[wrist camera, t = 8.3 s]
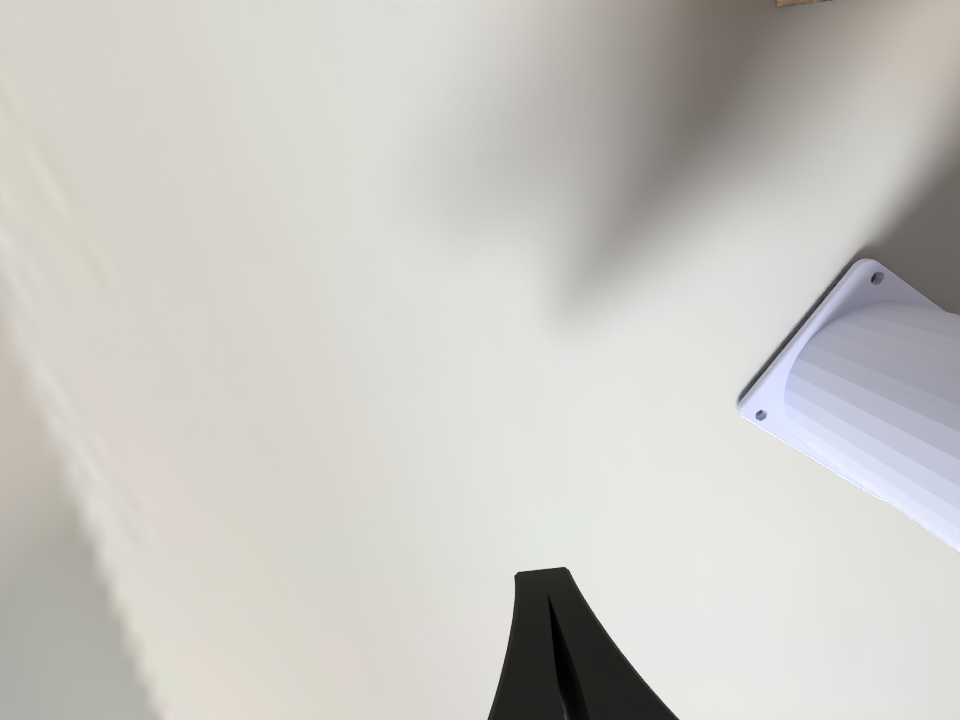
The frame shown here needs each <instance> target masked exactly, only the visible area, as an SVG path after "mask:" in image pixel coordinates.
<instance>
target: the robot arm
mask: <svg viewBox="0 0 960 720" xmlns="http://www.w3.org/2000/svg"><path fill="white" fill-rule="evenodd" d="M875 273H876V278H875V279H874V281H873V282H871V278H872V276H873V275H874V274H875ZM737 410H738V413H739V414H740V415H741V416H742V417H744V418H745V419H747V420H748V421H750V422H752V423H753V424H755V425H756V426H758V427H760V428H761V429H763V430H765V431H766V432H768V433H770V434H771V435H773V436H775V437H776V438H778V439H780V440H781V441H783V442H785V443H786V444H788V445H790V446H791V447H793V448H795V449H796V450H798V451H800V452H801V453H803V454H804V455H806V456H808V457H809V458H811V459H813V460H814V461H816V462H818V463H819V464H821V465H823V466H824V467H826V468H828V469H829V470H831V471H833V472H834V473H836V474H838V475H839V476H841V477H843V478H844V479H846V480H848V481H849V482H851V483H853V484H854V485H856V486H857V487H859V488H861V489H862V490H864V491H866V492H867V493H869V494H871V495H872V496H874V497H876V498H877V499H880V500H885V501H887V502H888V503H889V504H891V505H892V506H894V507H895V508H897V509H898V510H899V511H901V512H902V513H904V514H905V515H907V516H908V517H909V518H911V519H912V520H914V521H915V522H916V523H918V524H919V525H921V526H922V527H924V528H925V529H926V530H928V531H929V532H931V533H932V534H934V535H935V536H936V537H938V538H939V539H941V540H942V541H944V542H945V543H946V544H948V545H949V546H951V547H952V548H953V549H955V550H956V551H958V552H959V553H960V315H957V314H952V313H948V312H945V311H944V310H942V309H941V308H940V307H938V306H937V305H936V304H934V303H933V302H932V301H930V300H929V299H928V298H926V297H925V296H924V295H922V294H921V293H920V292H918V291H917V290H915V289H914V288H913V287H911V286H910V285H909V284H907V283H906V282H905V281H903V280H902V279H901V278H899V277H898V276H897V275H895V274H894V273H893V272H891V271H890V270H889V269H887V268H886V267H884V266H883V265H882V264H880V263H879V262H878V261H876V260H873V259H861V260H858V261H857V262H856V263H854V264H853V265H852V267H851V268H850V269H849V270H848V272H847V273H846V274H845V275H844V276H843V278H842V279H841V280H840V281H839V282H838V284H837V285H836V286H835V287H834V288H833V290H832V291H831V292H830V293H829V295H828V296H827V297H826V298H825V299H824V301H823V302H822V303H821V304H820V305H819V307H818V308H817V309H816V310H815V311H814V313H813V314H812V315H811V316H810V318H809V319H808V320H807V321H806V322H805V324H804V325H803V326H802V327H801V328H800V330H799V331H798V332H797V333H796V334H795V336H794V337H793V338H792V339H791V341H790V342H789V343H788V344H787V345H786V347H785V348H784V349H783V350H782V351H781V353H780V354H779V355H778V356H777V357H776V359H775V360H774V361H773V362H772V364H771V365H770V366H769V367H768V368H767V370H766V371H765V372H764V373H763V374H762V376H761V377H760V378H759V379H758V380H757V382H756V383H755V384H754V385H753V387H752V388H751V389H750V390H749V391H748V393H747V394H746V395H745V396H744V397H743V399H742V400H741V401H740V403H739V404H738V408H737ZM759 410H762V412H761V414H760V415H759V416H756V413H757V412H758V411H759ZM514 577H515V601H514V611H513V619H512V625H511V630H510V636H509V641H508V647H507V651H506V655H505V660H504V664H503V668H502V672H501V676H500V680H499V684H498V687H497V691H496V694H495V698H494V701H493V704H492V707H491V710H490V713H489V717H488V720H565V718H566V720H679V719H678V718H677V717H676V716H675V715H674V714H673V712H672V711H671V710H670V709H669V708H668V707H667V706H666V705H665V704H664V703H663V702H662V700H661V699H660V698H659V697H658V696H657V695H656V694H655V693H654V691H653V690H652V689H651V688H650V687H649V686H648V684H647V683H646V682H645V681H644V680H643V679H642V677H641V676H640V675H639V674H638V673H637V671H636V670H635V669H634V668H633V666H632V665H631V664H630V662H629V661H628V660H627V659H626V657H625V656H624V655H623V654H622V652H621V651H620V650H619V648H618V647H617V646H616V644H615V643H614V642H613V640H612V639H611V637H610V636H609V635H608V633H607V632H606V630H605V629H604V627H603V626H602V625H601V623H600V622H599V620H598V619H597V617H596V616H595V614H594V613H593V611H592V610H591V608H590V607H589V605H588V603H587V602H586V600H585V599H584V597H583V595H582V594H581V592H580V590H579V588H578V587H577V585H576V583H575V581H574V579H573V577H572V575H571V573H570V571H569V570H568V569H567V568H565V567H560V568H551V569H542V570H532V571H523V572H518V573H517V574H516V575H515V576H514Z"/></svg>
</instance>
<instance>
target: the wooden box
mask: <svg viewBox="0 0 960 720" xmlns="http://www.w3.org/2000/svg"><path fill="white" fill-rule="evenodd" d="M821 1H830V0H777V5H776V7H777V6H786V5H795V4H803V3H812V2H821Z"/></svg>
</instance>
